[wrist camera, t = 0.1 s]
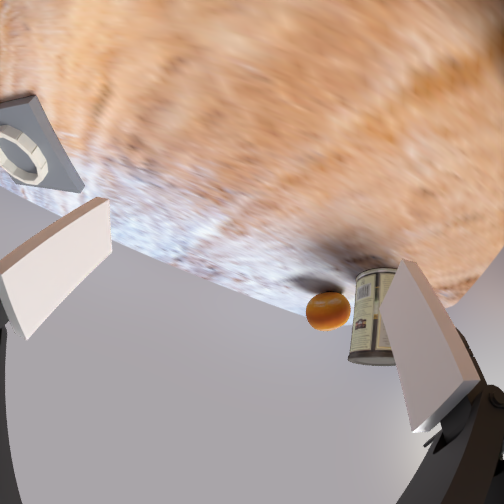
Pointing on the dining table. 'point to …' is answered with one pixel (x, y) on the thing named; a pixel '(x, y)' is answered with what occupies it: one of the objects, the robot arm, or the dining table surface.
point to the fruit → (328, 311)
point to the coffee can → (371, 319)
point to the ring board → (34, 148)
